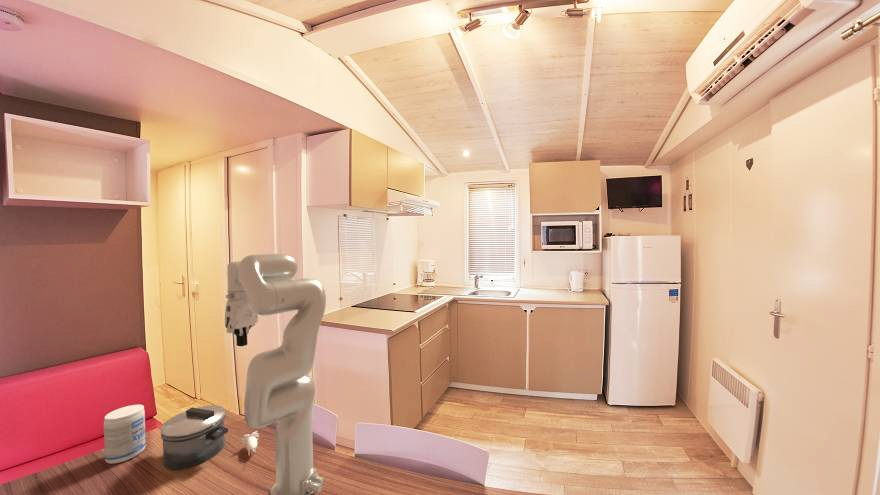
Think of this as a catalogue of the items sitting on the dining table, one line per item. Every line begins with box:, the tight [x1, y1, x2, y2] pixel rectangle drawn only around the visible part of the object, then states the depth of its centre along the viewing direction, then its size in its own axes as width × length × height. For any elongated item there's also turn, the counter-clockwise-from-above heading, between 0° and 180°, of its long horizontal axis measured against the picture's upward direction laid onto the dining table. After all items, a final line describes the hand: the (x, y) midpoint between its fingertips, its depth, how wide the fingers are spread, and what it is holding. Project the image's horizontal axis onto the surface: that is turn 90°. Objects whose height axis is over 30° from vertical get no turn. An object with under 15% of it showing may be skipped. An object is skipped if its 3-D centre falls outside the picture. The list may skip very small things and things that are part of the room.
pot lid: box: [160, 404, 226, 438], centre depth 102 cm, size 17×17×3 cm
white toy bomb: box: [241, 429, 260, 456], centre depth 101 cm, size 12×5×5 cm, turn 37°
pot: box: [160, 409, 229, 471], centre depth 102 cm, size 23×18×10 cm
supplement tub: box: [103, 404, 147, 465], centre depth 101 cm, size 10×10×15 cm
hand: (242, 345), depth 110 cm, fingers closed
